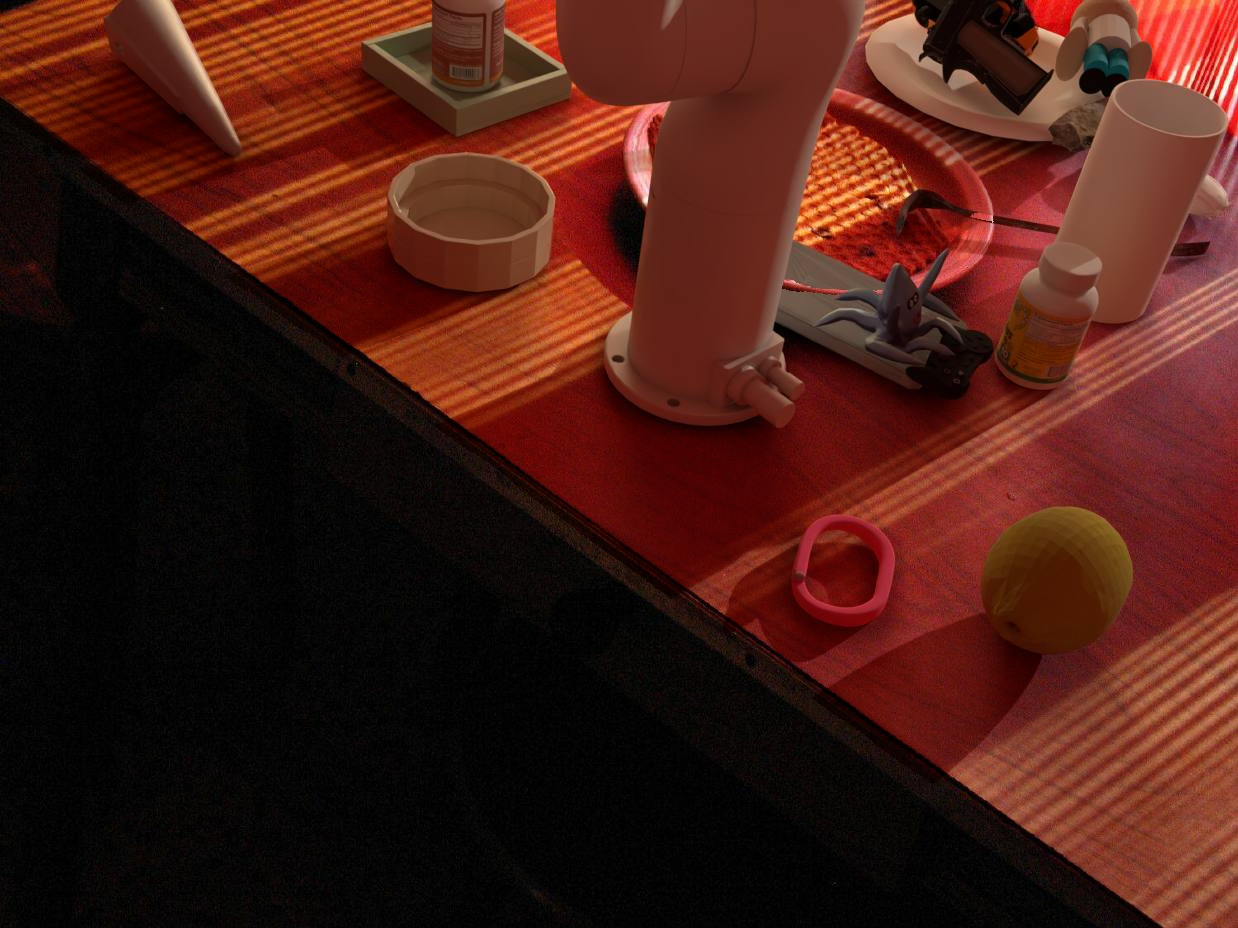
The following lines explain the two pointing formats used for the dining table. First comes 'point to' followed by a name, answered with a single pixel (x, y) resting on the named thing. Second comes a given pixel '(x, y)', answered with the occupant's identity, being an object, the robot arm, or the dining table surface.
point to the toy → (1103, 47)
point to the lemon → (1056, 580)
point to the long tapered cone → (169, 64)
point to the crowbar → (1008, 220)
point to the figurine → (917, 331)
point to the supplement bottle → (1050, 317)
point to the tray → (520, 90)
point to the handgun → (983, 53)
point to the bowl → (470, 221)
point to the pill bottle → (468, 43)
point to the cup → (1141, 187)
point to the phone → (842, 335)
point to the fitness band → (884, 579)
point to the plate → (969, 86)
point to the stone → (1078, 126)
